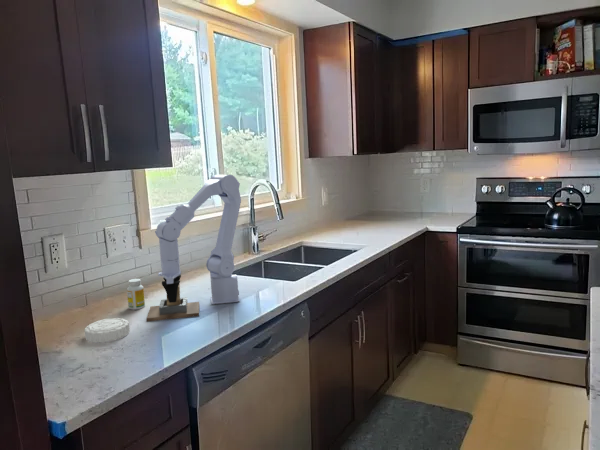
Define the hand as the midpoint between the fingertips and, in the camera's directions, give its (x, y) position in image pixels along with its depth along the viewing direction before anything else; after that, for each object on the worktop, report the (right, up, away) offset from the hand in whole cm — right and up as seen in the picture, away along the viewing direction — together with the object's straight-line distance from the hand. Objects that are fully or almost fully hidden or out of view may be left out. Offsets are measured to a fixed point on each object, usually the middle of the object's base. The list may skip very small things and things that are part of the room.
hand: (173, 299), depth 151 cm
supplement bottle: (-15, -4, +8) cm, 17 cm away
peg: (0, -3, 0) cm, 3 cm away
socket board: (0, -4, +1) cm, 4 cm away
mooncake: (-14, -8, -16) cm, 23 cm away
